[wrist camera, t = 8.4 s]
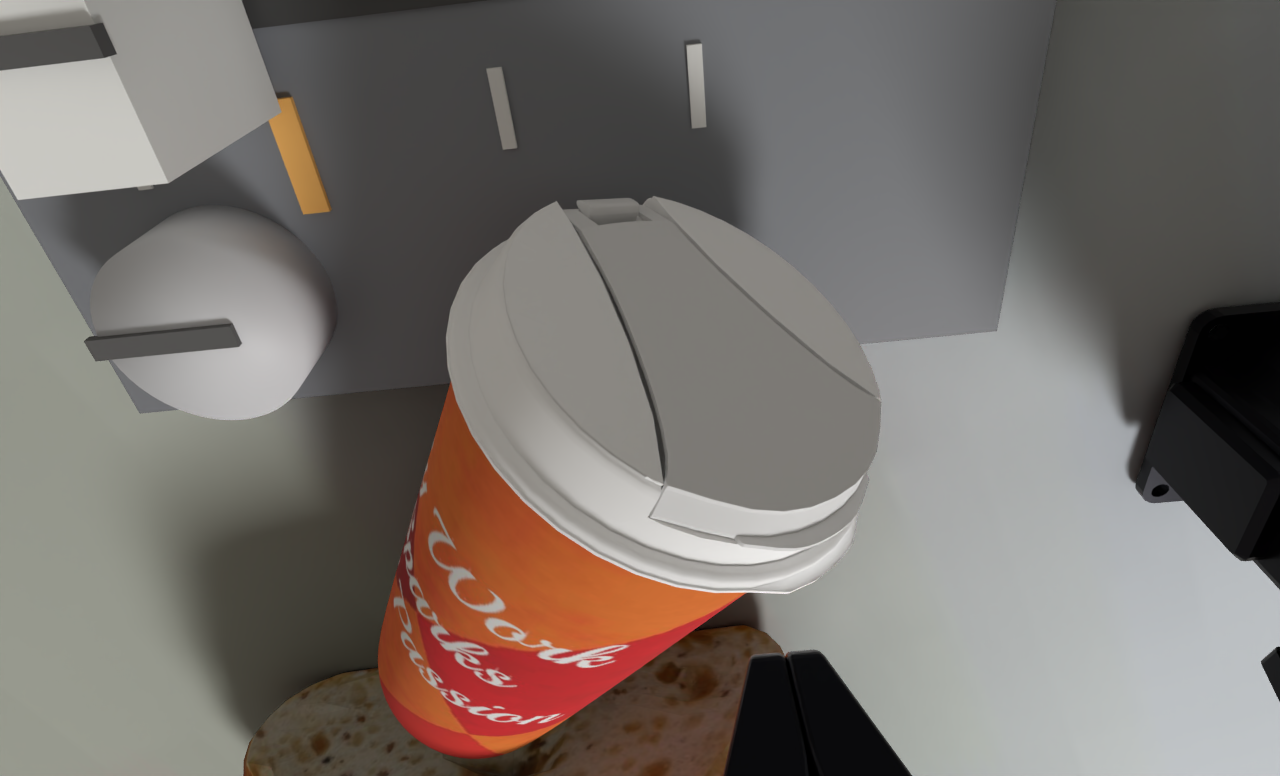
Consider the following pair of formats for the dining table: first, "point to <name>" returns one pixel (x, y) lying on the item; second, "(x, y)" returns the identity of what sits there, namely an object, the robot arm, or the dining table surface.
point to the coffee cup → (616, 464)
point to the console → (554, 176)
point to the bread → (553, 763)
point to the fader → (123, 91)
